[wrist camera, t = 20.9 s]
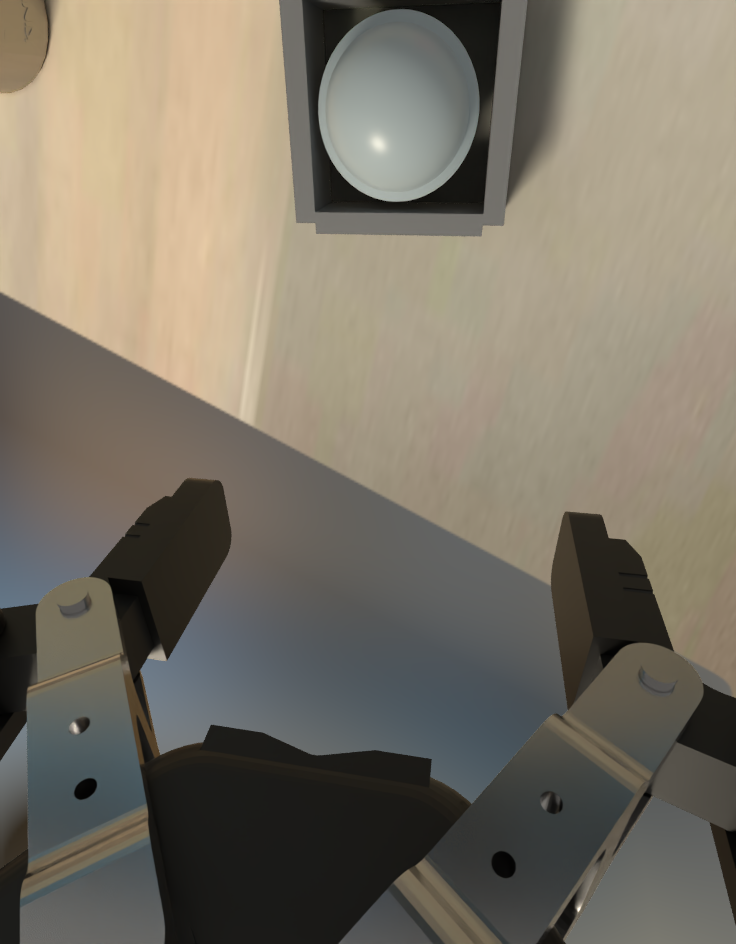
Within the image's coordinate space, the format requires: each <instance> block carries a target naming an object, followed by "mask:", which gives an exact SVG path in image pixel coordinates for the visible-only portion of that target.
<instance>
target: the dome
mask: <svg viewBox="0 0 736 944" xmlns="http://www.w3.org/2000/svg"><path fill="white" fill-rule="evenodd" d="M479 103H480V98H479V87H478V82H477V78H476V73H475V70H474V67H473V65H472V62H471V59H470V57H469V55H468V53H467V51H466V49H465V48H464V46H463V45H462V43H461V42H460V40H459V39H458V38H457V37H456V35H455V34H454V33H453V32H452V31H451V30H450V29H449V28H448V27H447V26H445V25H444V24H443V23H442V22H440V21H439V20H437V19H435V18H434V17H432V16H430V15H427V14H425V13H422V12H419V11H414V10H409V9H395V10H387V11H383V12H380V13H377V14H374V15H372V16H370V17H368V18H366V19H364V20H363V21H361V22H360V23H359V24H357V25H356V26H354V27H353V28H352V29H351V30H350V31H349V32H348V33H347V34H346V35H345V36H344V37H343V39H342V40H341V41H340V42H339V43H338V45H337V47H336V48H335V50H334V51H333V53H332V55H331V57H330V59H329V61H328V63H327V65H326V68H325V71H324V74H323V77H322V81H321V86H320V91H319V101H318V115H319V125H320V130H321V135H322V139H323V142H324V145H325V148H326V150H327V152H328V154H329V157H330V159H331V160H332V162H333V164H334V165H335V167H336V169H337V170H338V171H339V172H340V174H341V175H342V176H343V177H344V178H345V179H346V180H347V181H348V182H349V183H350V184H351V185H352V186H354V187H355V188H356V189H358V190H359V191H361V192H363V193H364V194H366V195H368V196H371V197H373V198H376V199H380V200H384V201H393V202H400V201H409V200H413V199H417V198H420V197H422V196H425V195H427V194H429V193H431V192H433V191H434V190H436V189H437V188H439V187H440V186H442V185H443V184H444V183H445V182H446V181H447V180H448V179H449V178H450V177H451V176H452V175H453V174H454V173H455V172H456V170H457V169H458V168H459V166H460V165H461V163H462V162H463V160H464V159H465V157H466V155H467V153H468V151H469V149H470V147H471V144H472V141H473V139H474V136H475V132H476V128H477V124H478V117H479Z"/></svg>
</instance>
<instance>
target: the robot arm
mask: <svg viewBox="0 0 736 944" xmlns="http://www.w3.org/2000/svg"><path fill="white" fill-rule="evenodd" d="M47 43H48V21H47V15H46V10H45V4H44V0H0V93H12V92H15V91H18V90H21V89H23V88H24V87H26V86H27V85H28V84H30V83H31V82H32V81H33V80H34V78H35V77H36V76H37V74H38V73H39V71H40V69H41V67H42V64H43V62H44V59H45V56H46V50H47ZM230 545H231V527H230V522H229V516H228V511H227V506H226V500H225V495H224V490H223V486H222V484H221V482H220V481H218V480H207V479H196V478H187V479H186V480H185V481H184V482H183V483H182V484H181V486H180V487H179V488H178V490H177V491H176V492H175V493H174V495H173V496H172V497H169V496H165V497H163V498H162V499H160V500H159V501H157V502H156V503H154V504H152V505H151V506H149V507H148V508H147V509H146V510H145V511H144V512H143V513H142V514H141V516H140V517H139V518H138V519H137V521H136V522H135V525H132V526H131V528H130V529H129V530H128V531H127V533H126V534H125V537H122V539H121V540H120V541H119V542H118V543H117V544H116V546H115V547H114V548H113V549H112V550H111V551H110V553H109V554H108V555H107V556H106V557H105V559H104V560H103V561H102V562H101V564H100V565H99V566H98V567H97V568H96V569H95V571H94V572H93V573H92V574H91V576H90V577H87V578H86V577H85V578H78V579H75V580H71V581H68V582H65V583H63V584H61V585H59V586H57V587H56V588H54V589H53V590H52V591H50V592H49V593H48V594H46V595H45V596H44V597H43V599H42V600H41V601H40V603H39V604H34V605H27V606H19V607H11V608H3V609H0V760H1V759H2V758H3V756H4V755H5V753H6V752H7V750H8V749H9V747H10V746H11V744H12V743H13V741H14V740H15V738H16V737H17V735H18V734H19V732H20V731H21V729H22V728H23V726H24V725H25V724H26V722H27V774H28V775H27V776H28V777H27V782H28V849H27V850H25V851H24V852H23V853H21V854H20V855H19V856H17V857H16V858H15V859H13V860H12V861H10V862H9V863H8V864H6V865H5V866H4V867H2V868H1V869H0V944H566V943H565V942H564V941H565V939H566V938H567V936H568V935H569V933H570V931H571V930H572V928H573V927H574V925H575V923H576V922H577V920H578V918H579V917H580V916H581V914H582V912H583V911H584V909H585V908H586V906H587V904H588V902H589V901H590V899H591V897H592V896H593V894H594V892H595V890H596V888H597V887H598V885H599V883H600V881H601V879H602V878H603V876H604V874H605V872H606V871H607V869H608V867H609V866H610V864H611V863H612V861H613V859H614V858H615V856H616V855H617V853H618V852H619V850H620V848H621V847H622V845H623V844H624V842H625V840H626V839H627V837H628V836H629V834H630V832H631V831H632V829H633V828H634V826H635V825H636V823H637V822H638V820H639V818H640V817H641V815H642V814H643V812H644V810H645V809H646V807H647V806H648V804H649V803H650V801H651V799H652V798H653V796H655V797H657V798H659V799H661V800H663V801H665V802H667V803H670V804H672V805H674V806H676V807H678V808H680V809H682V810H685V811H687V812H689V813H691V814H694V815H696V816H698V817H700V818H702V819H704V820H706V821H708V822H710V826H711V830H712V833H713V838H714V842H715V846H716V849H717V853H718V857H719V861H720V865H721V869H722V873H723V877H724V881H725V885H726V889H727V893H728V897H729V901H730V905H731V908H732V913H733V916H734V920H735V924H736V698H734V697H731V696H729V695H725V694H723V693H721V692H718V691H716V690H714V689H712V688H710V687H708V686H707V685H705V684H704V683H702V680H701V678H700V676H699V675H698V673H697V671H696V670H695V669H694V667H693V666H692V665H691V664H690V663H689V662H688V661H687V660H685V659H684V658H683V657H682V656H680V655H678V654H677V653H675V652H674V650H673V647H672V644H671V641H670V638H669V636H668V633H667V630H666V627H665V624H664V621H663V618H662V615H661V612H660V610H659V607H658V604H657V601H656V598H655V595H654V594H653V589H652V587H651V584H650V581H649V579H647V576H648V575H647V572H646V569H645V566H644V563H643V561H642V558H641V556H640V555H639V554H638V553H637V552H636V551H635V550H634V549H633V548H632V546H631V545H630V544H629V543H628V542H627V541H626V540H621V539H611V538H608V534H607V531H606V527H605V524H604V520H603V517H602V515H600V514H588V513H577V512H565V513H564V515H563V518H562V523H561V527H560V532H559V537H558V541H557V546H556V551H555V555H554V560H553V565H552V573H551V591H552V599H553V606H554V613H555V621H556V628H557V635H558V642H559V650H560V657H561V664H562V671H563V679H564V686H565V693H566V700H567V708H568V711H567V712H566V713H565V714H564V715H563V716H560V715H558V714H553V715H552V716H550V717H549V718H548V719H547V720H546V721H545V722H544V723H543V724H542V725H541V726H540V727H539V728H538V730H537V731H536V732H535V733H534V734H533V735H532V736H531V738H530V739H529V740H528V741H527V742H526V743H525V744H524V746H523V747H522V748H521V749H520V750H519V751H518V752H517V754H516V755H515V756H514V757H513V758H512V759H511V760H510V761H509V762H508V764H507V765H506V766H505V767H504V768H503V769H502V770H501V772H500V773H499V774H498V775H497V776H496V777H495V778H494V780H493V781H492V782H491V783H490V784H489V785H488V786H487V787H486V789H485V790H484V791H483V792H482V793H481V794H480V795H479V796H478V798H477V799H476V800H475V801H474V802H473V803H472V804H471V803H470V802H469V801H468V800H467V799H465V798H464V797H463V796H462V795H460V794H459V793H458V792H457V791H455V790H454V789H452V788H450V787H449V786H447V785H445V784H444V783H442V782H440V781H438V780H435V779H433V778H431V777H430V772H431V760H432V759H428V758H421V757H414V756H408V755H402V754H395V753H389V752H382V751H376V750H374V751H362V752H352V753H341V754H331V755H318V756H316V755H311V754H308V753H306V752H304V751H301V750H300V749H297V748H295V747H293V746H291V745H289V744H286V743H284V742H282V741H280V740H278V739H275V738H273V737H271V736H269V735H267V734H264V733H261V732H254V731H248V730H242V729H235V728H229V727H222V726H216V725H211V726H210V728H209V731H208V733H207V735H206V737H205V740H204V742H203V743H196V744H191V745H187V746H183V747H180V748H177V749H174V750H171V751H169V752H167V753H165V754H162V755H160V752H159V749H158V745H157V740H156V736H155V731H154V727H153V723H152V718H151V713H150V708H149V704H148V699H147V695H146V690H145V685H144V680H143V677H142V674H141V671H140V669H141V668H142V666H143V664H144V663H145V661H146V659H147V658H149V659H156V660H163V661H167V660H168V658H169V656H170V654H171V653H172V651H173V649H174V648H175V646H176V644H177V642H178V641H179V639H180V637H181V635H182V634H183V632H184V630H185V628H186V626H187V625H188V623H189V621H190V619H191V618H192V616H193V614H194V613H195V611H196V609H197V607H198V606H199V604H200V602H201V600H202V599H203V597H204V595H205V593H206V592H207V590H208V588H209V586H210V585H211V583H212V581H213V579H214V578H215V576H216V574H217V572H218V570H219V569H220V567H221V565H222V563H223V562H224V560H225V558H226V556H227V555H228V552H229V549H230Z"/></svg>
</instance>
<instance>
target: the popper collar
mask: <svg viewBox="0 0 736 944" xmlns="http://www.w3.org/2000/svg"><path fill="white" fill-rule="evenodd" d="M486 2H501V9H500V21H499V32H498V43H497V55H496V66H495V78H494V89H493V101H492V112H491V124H490V135H489V146H488V158H487V169H486V181H485V192H484V203H425V202H332V200H331V178H330V157H329V154H328V152H327V150H326V148H325V145H324V142H323V139H322V135H321V130H320V125H319V115H318V101H319V91H320V86H321V81H322V77H323V74H324V71H325V46H324V24H323V10H329V9H351V8H374V7H396V6H418V5H441V4H463V3H486ZM527 2H528V0H279V4H280V17H281V30H282V42H283V55H284V68H285V81H286V94H287V107H288V120H289V133H290V146H291V159H292V171H293V184H294V197H295V210H296V223H316V234H369V235H429V236H482V225H490V226H504V217H505V207H506V198H507V189H508V179H509V170H510V161H511V151H512V142H513V133H514V123H515V114H516V105H517V95H518V86H519V77H520V67H521V58H522V48H523V39H524V30H525V20H526V11H527Z"/></svg>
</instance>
